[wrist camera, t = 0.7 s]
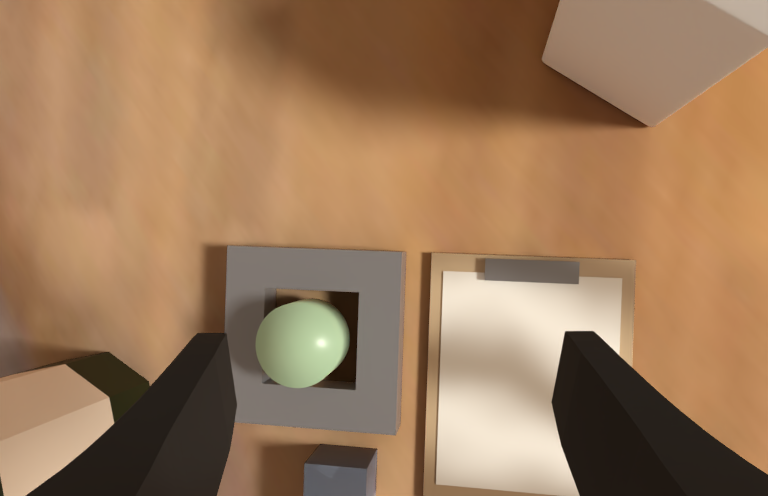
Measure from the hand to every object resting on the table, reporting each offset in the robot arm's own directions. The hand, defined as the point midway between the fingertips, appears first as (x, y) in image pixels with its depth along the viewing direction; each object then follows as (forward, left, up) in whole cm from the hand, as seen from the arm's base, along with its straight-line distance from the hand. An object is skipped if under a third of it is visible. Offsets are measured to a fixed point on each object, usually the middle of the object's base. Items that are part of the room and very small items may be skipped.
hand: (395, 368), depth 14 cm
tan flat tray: (-5, -4, -23) cm, 24 cm away
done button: (-3, +8, -21) cm, 23 cm away
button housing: (-3, +8, -23) cm, 24 cm away
